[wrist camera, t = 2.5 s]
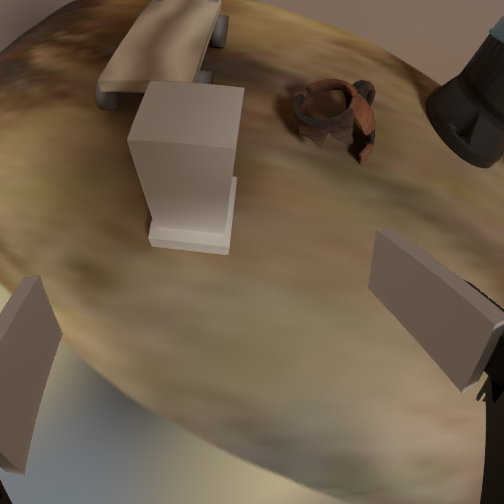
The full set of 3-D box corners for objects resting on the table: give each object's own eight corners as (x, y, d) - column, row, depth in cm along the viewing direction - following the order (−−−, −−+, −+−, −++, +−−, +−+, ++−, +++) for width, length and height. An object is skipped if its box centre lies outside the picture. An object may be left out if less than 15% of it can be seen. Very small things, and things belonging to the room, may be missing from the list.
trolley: (227, 34, 41) (241, -76, 23) (204, 126, 34) (212, -36, 16) (147, 31, 40) (141, -75, 22) (100, 121, 33) (59, -21, 15)
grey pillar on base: (235, 187, 32) (253, 79, 19) (228, 255, 29) (243, 165, 16) (165, 180, 31) (147, 71, 18) (151, 246, 29) (113, 153, 16)
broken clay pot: (357, 188, 34) (344, 140, 27) (291, 161, 39) (266, 116, 32) (399, 118, 35) (393, 68, 28) (337, 99, 40) (321, 54, 34)
